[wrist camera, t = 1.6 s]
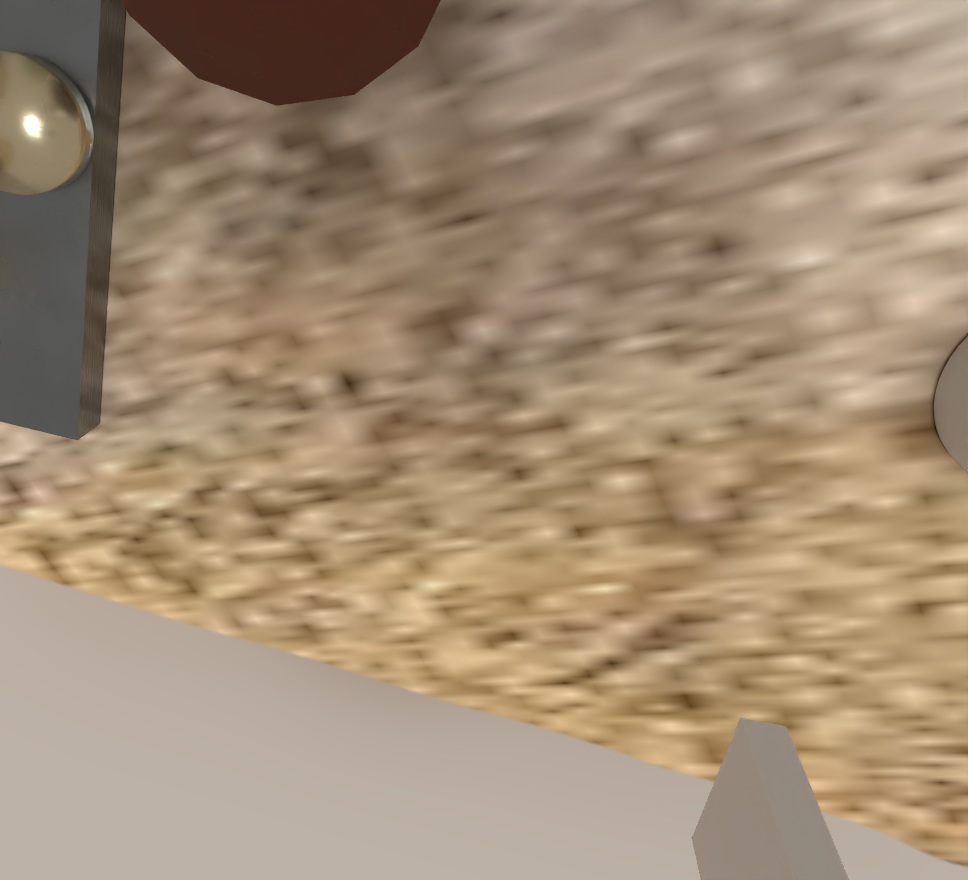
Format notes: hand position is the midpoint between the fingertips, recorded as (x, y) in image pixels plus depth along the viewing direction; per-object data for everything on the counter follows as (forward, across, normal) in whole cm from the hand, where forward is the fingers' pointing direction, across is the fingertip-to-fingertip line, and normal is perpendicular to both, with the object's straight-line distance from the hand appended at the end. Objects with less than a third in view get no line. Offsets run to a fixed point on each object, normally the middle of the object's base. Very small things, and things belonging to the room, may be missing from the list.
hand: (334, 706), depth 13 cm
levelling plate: (+24, -24, +6) cm, 34 cm away
